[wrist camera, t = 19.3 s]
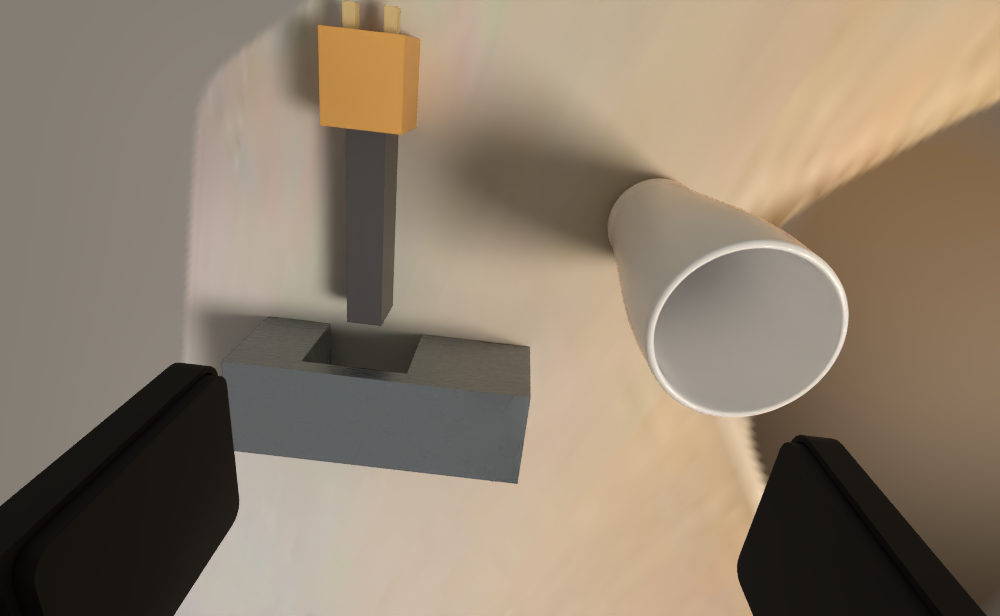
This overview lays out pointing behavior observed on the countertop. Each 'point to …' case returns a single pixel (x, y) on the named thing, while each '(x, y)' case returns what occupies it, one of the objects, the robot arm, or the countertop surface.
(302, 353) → the housing
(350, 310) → the plug
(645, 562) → the countertop surface
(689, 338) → the drinking glass
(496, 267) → the countertop surface
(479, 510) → the countertop surface
